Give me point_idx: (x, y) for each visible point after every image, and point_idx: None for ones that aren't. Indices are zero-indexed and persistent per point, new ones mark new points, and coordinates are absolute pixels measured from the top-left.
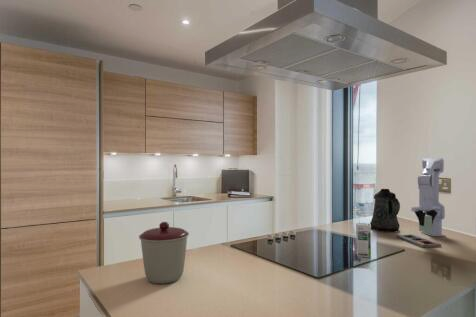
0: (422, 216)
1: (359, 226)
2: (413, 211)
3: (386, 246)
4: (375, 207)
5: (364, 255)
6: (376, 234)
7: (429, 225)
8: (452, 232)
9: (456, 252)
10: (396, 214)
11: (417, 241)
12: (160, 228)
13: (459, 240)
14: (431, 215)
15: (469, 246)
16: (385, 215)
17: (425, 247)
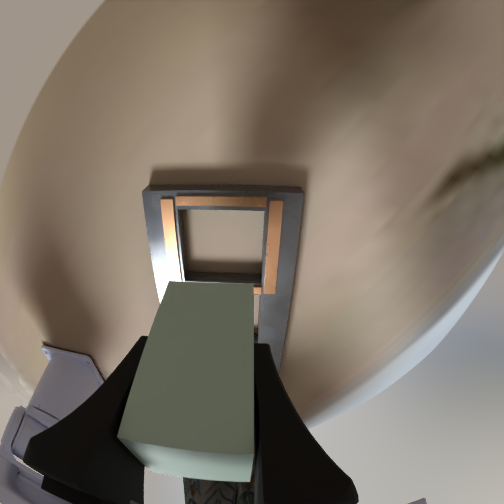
0: (310, 449)
1: None
2: (419, 501)
3: (460, 259)
4: None
5: None
6: (321, 411)
7: (182, 334)
8: (18, 362)
9: (146, 48)
10: (216, 490)
11: (267, 280)
12: None
13: (13, 283)
14: (115, 447)
15: (7, 183)
16: (251, 489)
17: (281, 186)
